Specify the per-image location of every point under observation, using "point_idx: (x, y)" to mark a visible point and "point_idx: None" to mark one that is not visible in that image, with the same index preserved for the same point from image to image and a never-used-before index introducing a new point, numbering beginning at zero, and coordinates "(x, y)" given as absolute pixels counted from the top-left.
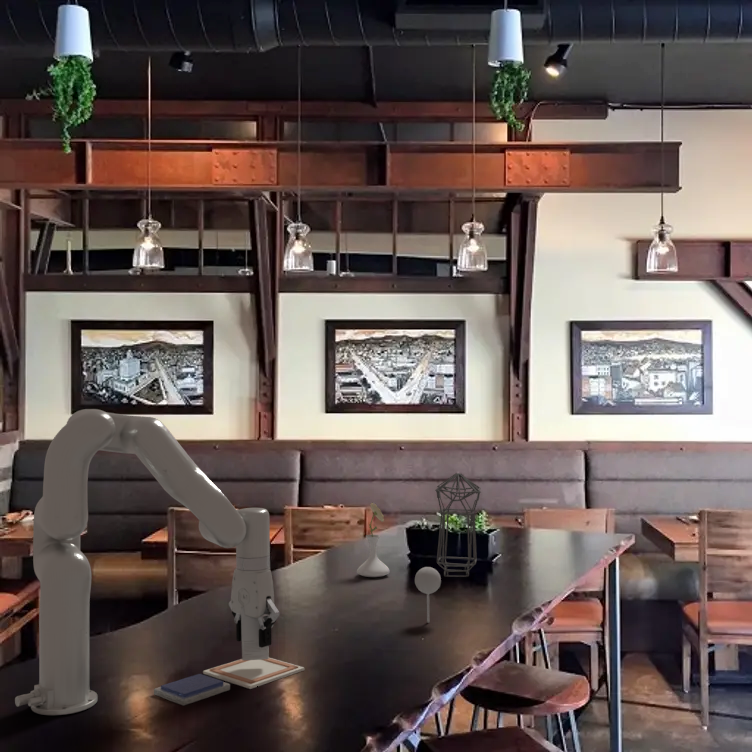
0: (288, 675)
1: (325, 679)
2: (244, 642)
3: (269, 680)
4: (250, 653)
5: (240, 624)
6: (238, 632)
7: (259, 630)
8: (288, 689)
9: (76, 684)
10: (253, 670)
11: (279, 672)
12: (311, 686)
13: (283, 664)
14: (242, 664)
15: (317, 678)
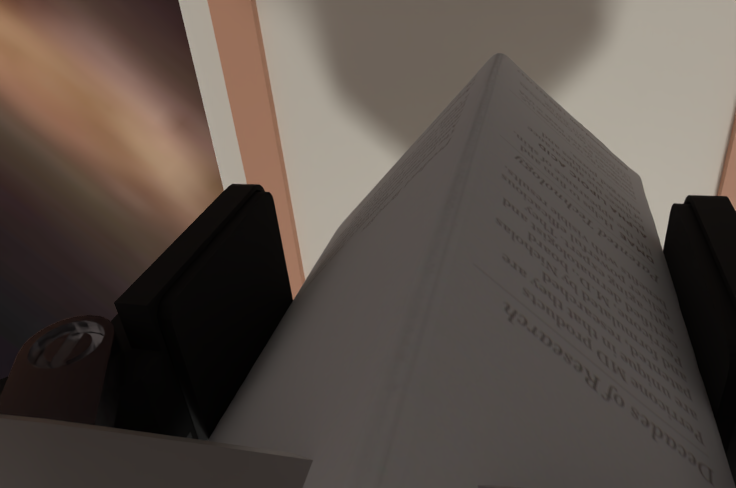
0: None
1: (74, 287)
2: (448, 135)
3: (193, 49)
4: (426, 137)
5: (720, 385)
6: (709, 265)
7: (147, 296)
8: (12, 38)
9: None
10: None
11: None
12: (5, 168)
13: None
14: (673, 163)
15: (109, 277)
